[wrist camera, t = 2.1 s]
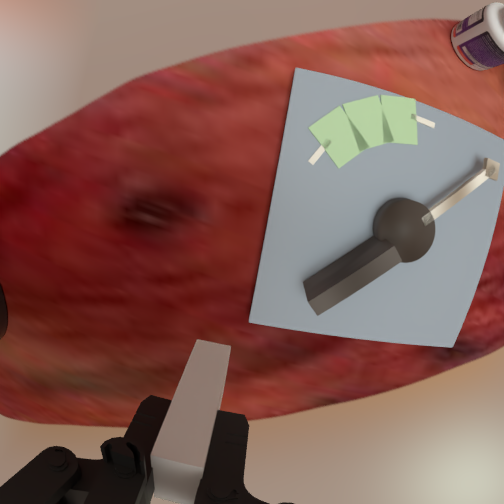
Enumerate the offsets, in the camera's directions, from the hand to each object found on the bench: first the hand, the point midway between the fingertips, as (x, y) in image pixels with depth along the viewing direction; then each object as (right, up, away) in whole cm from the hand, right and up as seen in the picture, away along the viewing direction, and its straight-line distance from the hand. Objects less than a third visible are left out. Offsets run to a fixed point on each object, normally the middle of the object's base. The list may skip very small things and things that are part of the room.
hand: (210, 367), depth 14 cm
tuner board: (+14, +8, +13) cm, 21 cm away
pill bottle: (+24, +26, +8) cm, 36 cm away
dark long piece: (+14, +7, +12) cm, 20 cm away
